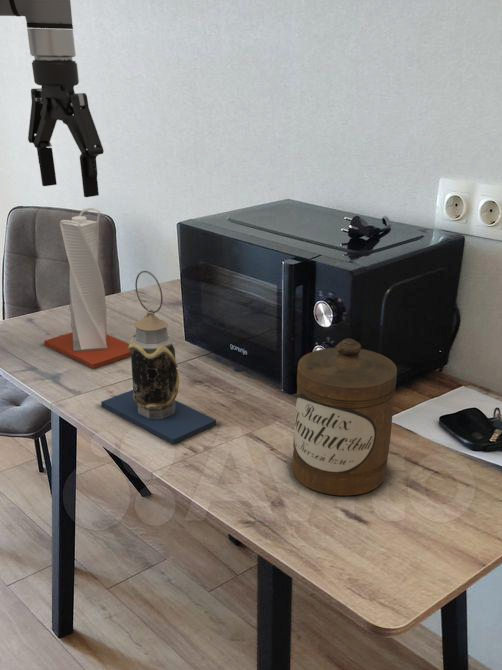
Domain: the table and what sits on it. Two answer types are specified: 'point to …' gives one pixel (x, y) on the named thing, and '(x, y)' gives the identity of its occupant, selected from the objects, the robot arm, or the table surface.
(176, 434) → the mat blue
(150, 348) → the lantern
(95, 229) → the skyscraper
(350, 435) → the wooden container
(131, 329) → the table surface
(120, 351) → the mat terracotta
